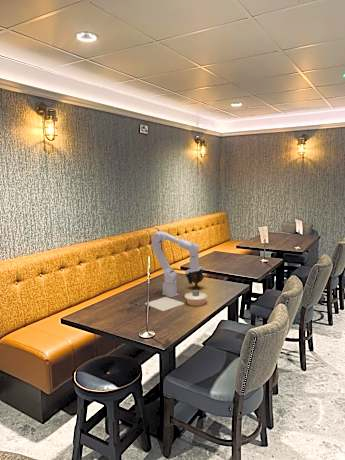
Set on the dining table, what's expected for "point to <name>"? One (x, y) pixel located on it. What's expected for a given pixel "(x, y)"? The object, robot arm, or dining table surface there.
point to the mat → (164, 303)
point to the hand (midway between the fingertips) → (194, 282)
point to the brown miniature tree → (196, 280)
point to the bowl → (196, 302)
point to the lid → (195, 295)
